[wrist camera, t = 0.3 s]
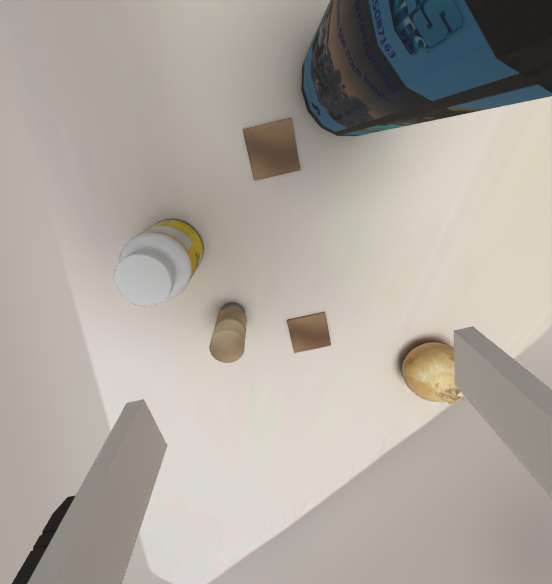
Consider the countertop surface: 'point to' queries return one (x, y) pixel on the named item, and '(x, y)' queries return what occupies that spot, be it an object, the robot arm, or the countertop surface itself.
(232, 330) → the tan wooden cylinder
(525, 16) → the advertising column
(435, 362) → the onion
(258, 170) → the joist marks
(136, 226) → the countertop surface
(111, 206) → the countertop surface
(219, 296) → the countertop surface
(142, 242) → the pill bottle
